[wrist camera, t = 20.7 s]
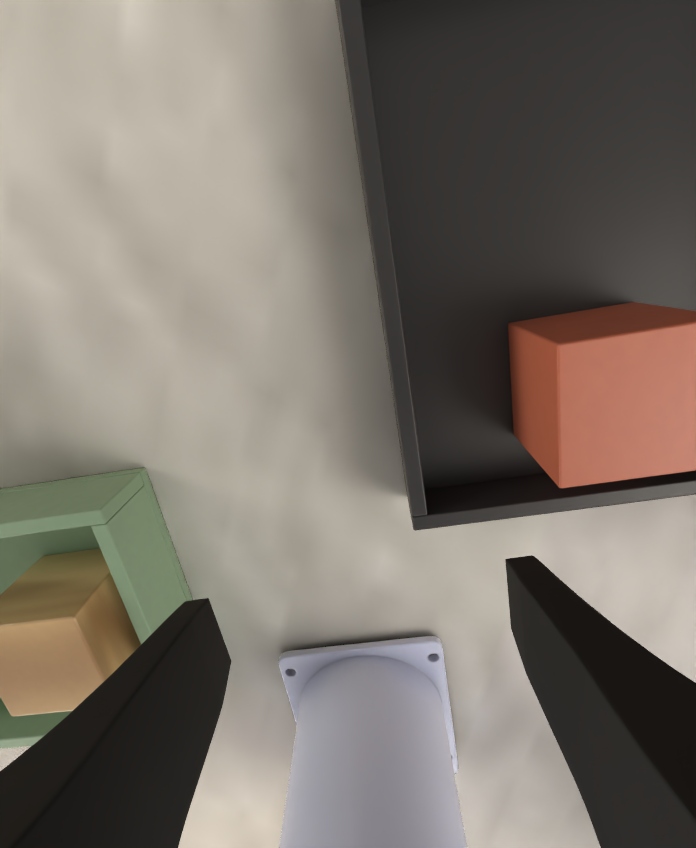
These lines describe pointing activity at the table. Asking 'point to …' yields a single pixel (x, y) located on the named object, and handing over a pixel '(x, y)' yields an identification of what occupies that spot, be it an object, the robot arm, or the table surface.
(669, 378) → the terracotta block
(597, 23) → the pan
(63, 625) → the beech block
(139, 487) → the bin
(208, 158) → the table surface
